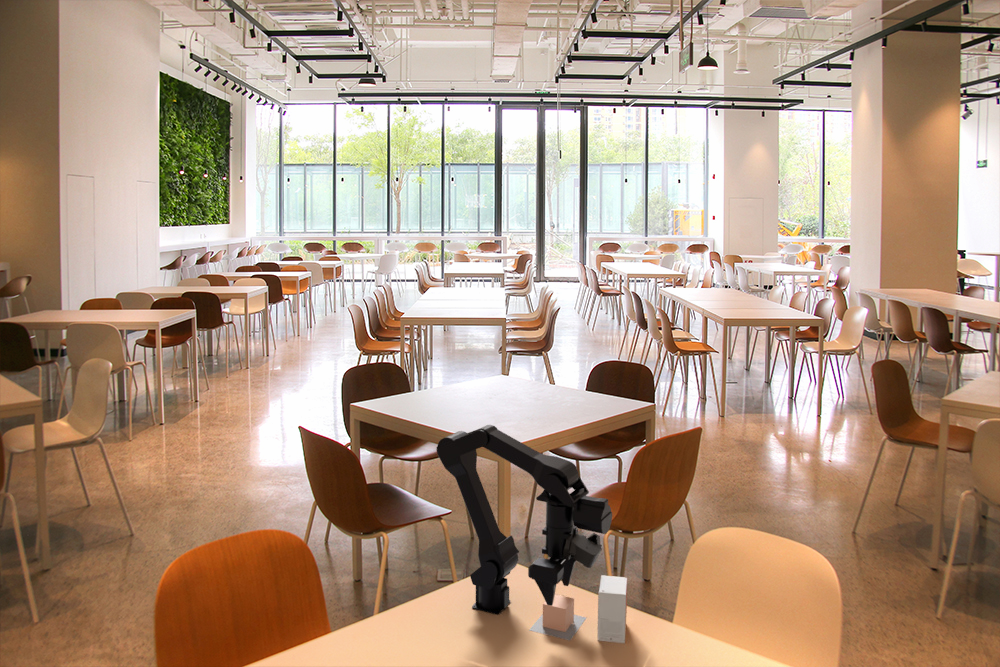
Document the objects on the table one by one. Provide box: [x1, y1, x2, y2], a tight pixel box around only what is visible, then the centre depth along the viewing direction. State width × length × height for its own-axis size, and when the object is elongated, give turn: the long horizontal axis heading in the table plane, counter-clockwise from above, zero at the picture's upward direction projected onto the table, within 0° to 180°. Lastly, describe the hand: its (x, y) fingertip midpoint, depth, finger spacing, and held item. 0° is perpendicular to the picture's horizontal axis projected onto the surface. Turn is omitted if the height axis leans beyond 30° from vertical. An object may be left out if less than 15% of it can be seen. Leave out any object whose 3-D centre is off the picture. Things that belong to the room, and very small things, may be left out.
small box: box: [596, 574, 629, 644], centre depth 157 cm, size 8×6×10 cm
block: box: [542, 593, 575, 632], centre depth 160 cm, size 5×5×5 cm
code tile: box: [529, 613, 587, 642], centre depth 161 cm, size 9×10×1 cm
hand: (558, 595), depth 160 cm, fingers open, 9 cm apart
